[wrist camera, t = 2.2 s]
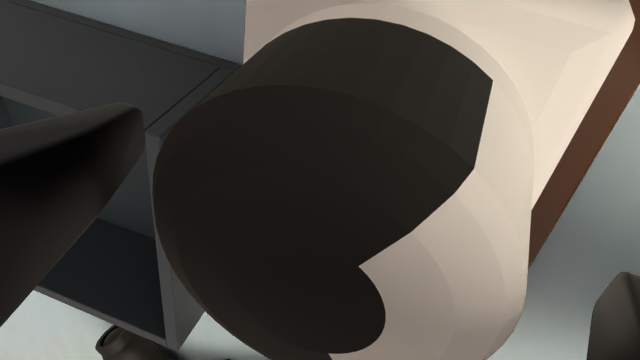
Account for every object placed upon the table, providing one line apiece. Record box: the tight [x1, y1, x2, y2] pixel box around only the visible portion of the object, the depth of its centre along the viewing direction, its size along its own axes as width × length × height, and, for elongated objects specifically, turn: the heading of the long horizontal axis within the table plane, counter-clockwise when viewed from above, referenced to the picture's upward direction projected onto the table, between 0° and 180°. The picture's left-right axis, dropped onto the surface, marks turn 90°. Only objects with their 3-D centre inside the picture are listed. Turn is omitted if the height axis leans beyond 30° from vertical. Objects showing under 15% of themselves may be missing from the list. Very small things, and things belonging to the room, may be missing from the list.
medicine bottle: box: [152, 0, 635, 360], centre depth 12 cm, size 7×7×12 cm
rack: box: [528, 0, 640, 269], centre depth 19 cm, size 11×21×2 cm, turn 171°
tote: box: [0, 0, 241, 351], centre depth 23 cm, size 13×12×6 cm
